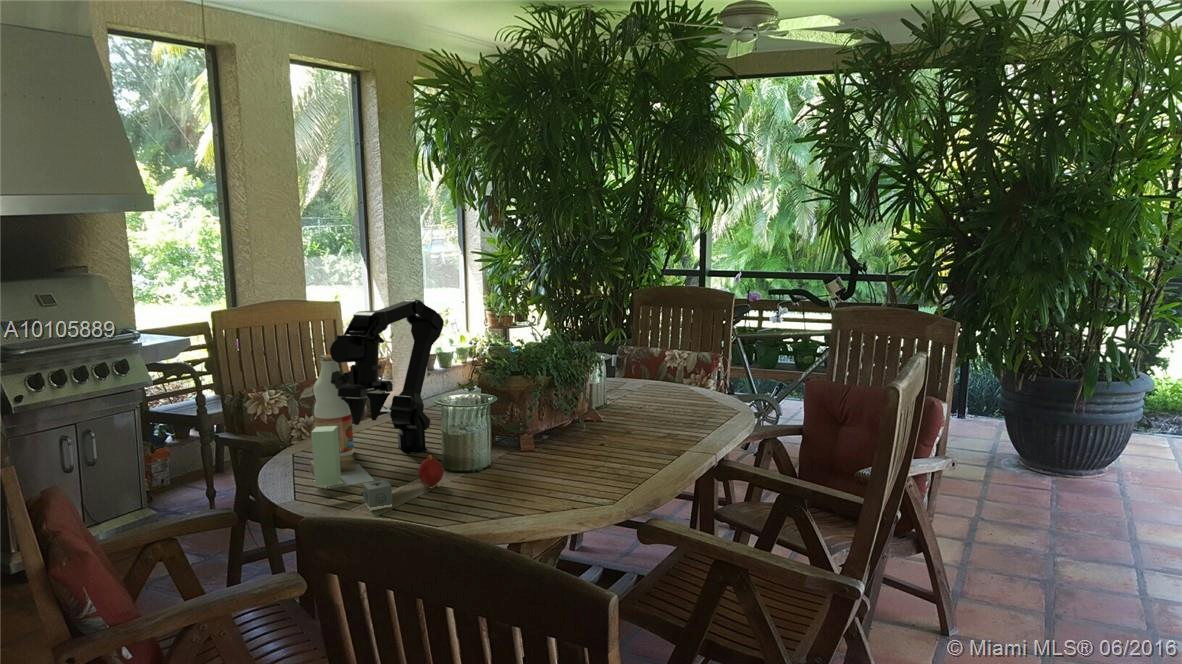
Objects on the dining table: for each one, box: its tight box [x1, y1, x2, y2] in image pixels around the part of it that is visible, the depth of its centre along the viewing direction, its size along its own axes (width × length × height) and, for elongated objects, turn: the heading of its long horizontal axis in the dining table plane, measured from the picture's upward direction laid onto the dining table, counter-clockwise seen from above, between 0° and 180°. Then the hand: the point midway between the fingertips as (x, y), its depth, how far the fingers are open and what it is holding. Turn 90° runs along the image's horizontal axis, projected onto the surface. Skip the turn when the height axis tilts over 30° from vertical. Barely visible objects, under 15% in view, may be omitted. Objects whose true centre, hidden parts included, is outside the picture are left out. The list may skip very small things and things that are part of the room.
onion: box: [417, 454, 444, 488], centre depth 196 cm, size 6×6×8 cm
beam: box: [309, 454, 356, 476], centre depth 206 cm, size 10×4×3 cm, turn 119°
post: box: [310, 426, 341, 485], centre depth 197 cm, size 5×5×13 cm
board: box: [314, 463, 376, 490], centre depth 202 cm, size 14×16×1 cm
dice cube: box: [362, 479, 393, 508], centre depth 184 cm, size 5×5×5 cm
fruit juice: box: [312, 354, 355, 457], centre depth 220 cm, size 9×9×28 cm
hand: (365, 422), depth 210 cm, fingers open, 9 cm apart
